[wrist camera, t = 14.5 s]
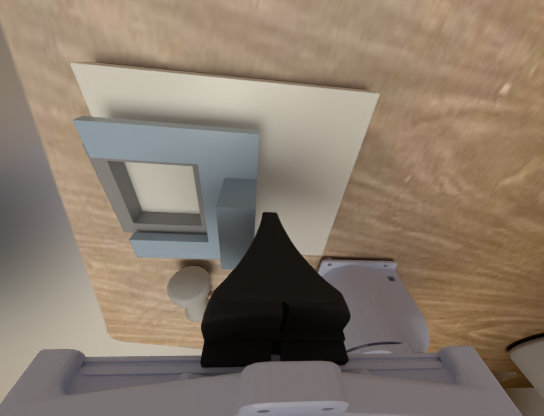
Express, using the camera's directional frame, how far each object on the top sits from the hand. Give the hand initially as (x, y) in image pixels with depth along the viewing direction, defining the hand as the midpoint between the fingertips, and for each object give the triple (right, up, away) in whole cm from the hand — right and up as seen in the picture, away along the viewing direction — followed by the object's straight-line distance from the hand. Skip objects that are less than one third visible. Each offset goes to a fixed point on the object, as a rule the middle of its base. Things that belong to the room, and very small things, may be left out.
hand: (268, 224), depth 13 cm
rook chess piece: (-9, -7, +9) cm, 14 cm away
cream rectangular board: (-3, +3, +4) cm, 6 cm away
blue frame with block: (-6, +2, +1) cm, 6 cm away
